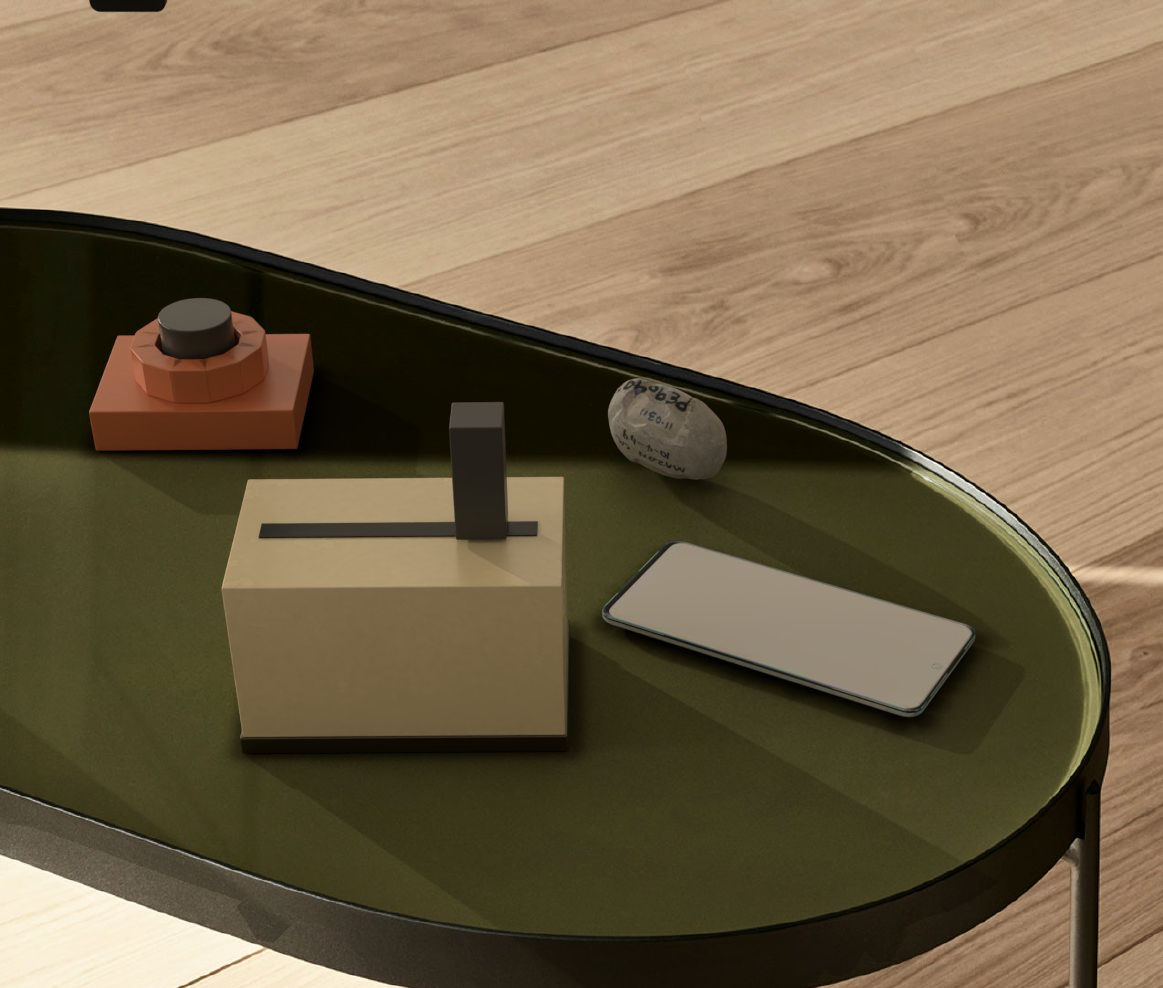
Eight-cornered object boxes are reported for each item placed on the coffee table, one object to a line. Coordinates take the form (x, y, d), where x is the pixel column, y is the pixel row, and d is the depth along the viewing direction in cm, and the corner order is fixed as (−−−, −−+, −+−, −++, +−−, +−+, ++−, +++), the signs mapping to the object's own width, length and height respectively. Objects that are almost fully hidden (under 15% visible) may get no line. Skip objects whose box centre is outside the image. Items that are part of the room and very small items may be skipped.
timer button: (157, 363, 104) (152, 331, 102) (168, 329, 106) (163, 297, 105) (230, 363, 103) (225, 330, 102) (239, 329, 106) (235, 297, 105)
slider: (455, 540, 82) (449, 428, 79) (458, 513, 84) (451, 401, 81) (506, 540, 82) (502, 427, 79) (508, 512, 84) (503, 401, 81)
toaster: (242, 754, 85) (217, 588, 80) (266, 636, 92) (245, 476, 87) (567, 751, 85) (564, 585, 80) (569, 634, 92) (566, 473, 86)
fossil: (740, 480, 101) (743, 387, 98) (705, 513, 99) (708, 419, 96) (624, 446, 104) (624, 354, 101) (589, 477, 102) (587, 385, 98)
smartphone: (671, 537, 96) (980, 628, 90) (670, 547, 97) (979, 638, 91) (596, 613, 92) (917, 714, 86) (596, 623, 92) (916, 725, 86)
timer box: (95, 451, 104) (82, 379, 102) (123, 373, 110) (111, 303, 108) (297, 449, 104) (289, 377, 101) (314, 371, 110) (306, 301, 108)
